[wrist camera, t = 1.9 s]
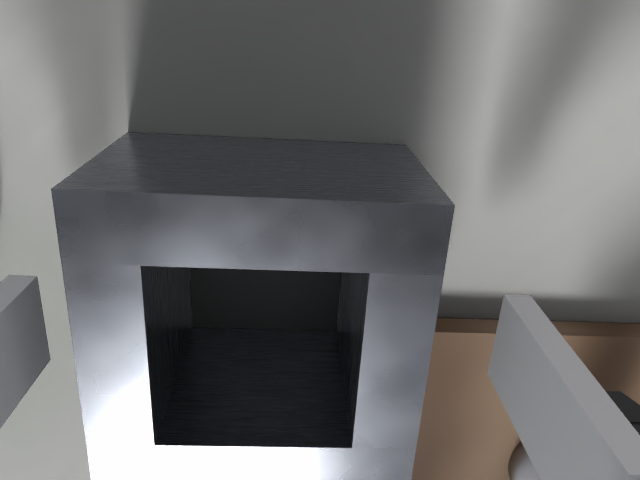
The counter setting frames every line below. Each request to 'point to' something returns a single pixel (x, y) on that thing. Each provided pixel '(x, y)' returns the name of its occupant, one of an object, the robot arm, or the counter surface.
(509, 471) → the post
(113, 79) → the counter surface
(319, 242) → the ring
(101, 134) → the counter surface
